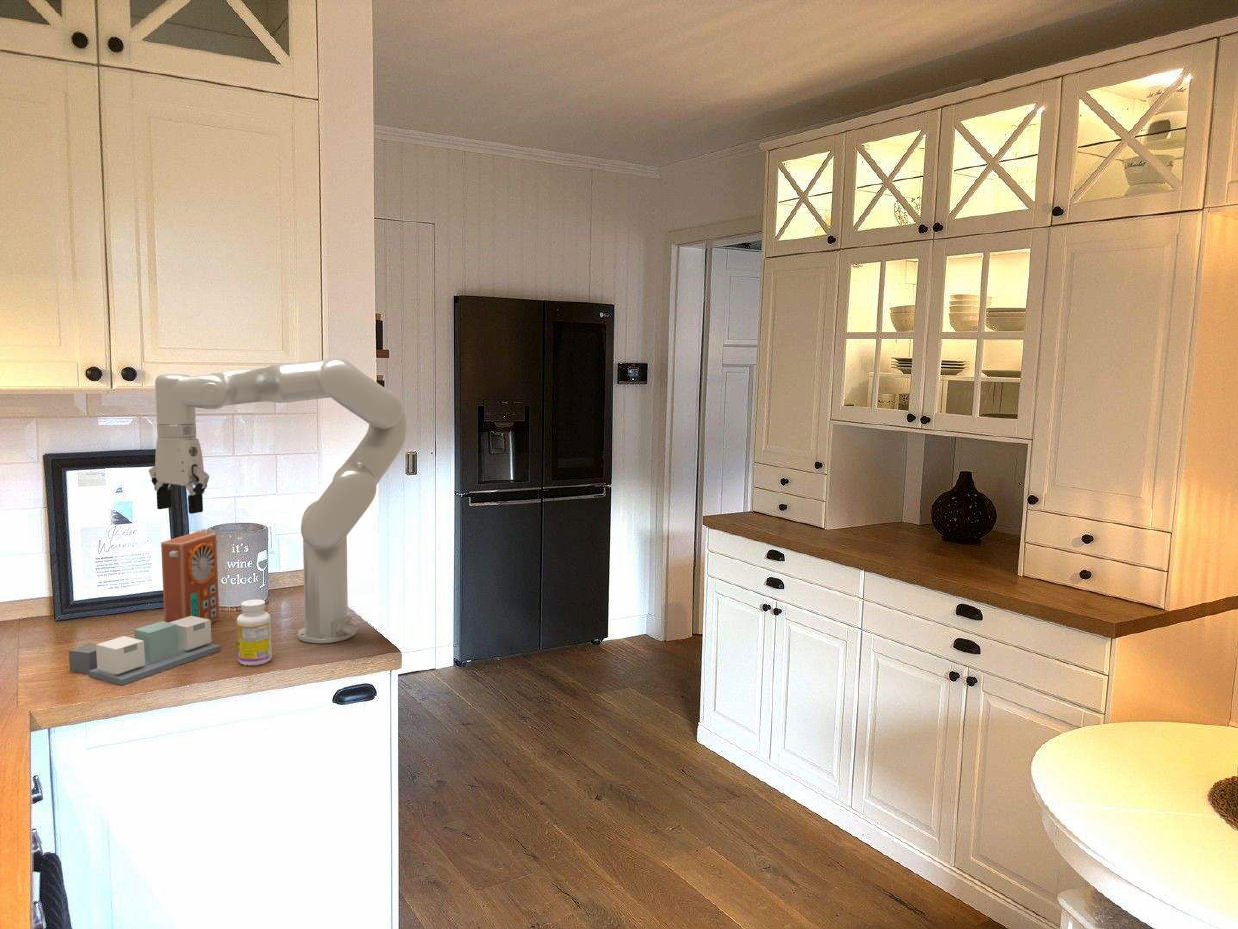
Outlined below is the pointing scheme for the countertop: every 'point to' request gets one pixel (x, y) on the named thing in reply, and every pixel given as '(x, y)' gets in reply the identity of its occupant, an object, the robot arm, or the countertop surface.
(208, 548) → the control panel
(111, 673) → the rail
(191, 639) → the mounted modules
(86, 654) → the block
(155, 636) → the module
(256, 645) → the supplement bottle
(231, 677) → the countertop surface
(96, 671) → the board
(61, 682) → the countertop surface
